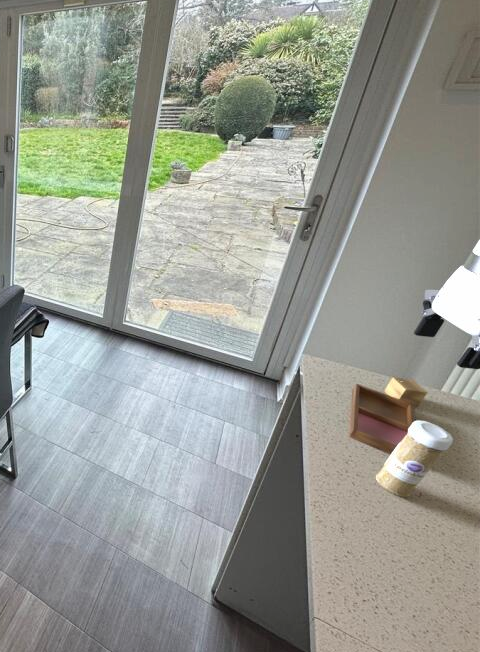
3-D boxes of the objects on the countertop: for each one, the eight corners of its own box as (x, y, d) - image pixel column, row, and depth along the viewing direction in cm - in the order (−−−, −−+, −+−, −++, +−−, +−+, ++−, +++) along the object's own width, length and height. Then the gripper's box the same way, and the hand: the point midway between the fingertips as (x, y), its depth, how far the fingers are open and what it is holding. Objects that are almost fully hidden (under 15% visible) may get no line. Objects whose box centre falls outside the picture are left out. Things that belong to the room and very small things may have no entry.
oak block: (404, 393, 91) (413, 379, 90) (418, 406, 88) (427, 392, 86) (383, 390, 92) (392, 377, 90) (396, 403, 89) (405, 389, 87)
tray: (408, 411, 87) (413, 404, 86) (413, 464, 75) (419, 456, 74) (352, 390, 92) (356, 383, 91) (348, 436, 80) (353, 429, 79)
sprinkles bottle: (382, 492, 70) (423, 436, 64) (369, 470, 73) (407, 415, 67) (416, 502, 68) (461, 445, 62) (402, 479, 72) (443, 424, 66)
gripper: (585, 296, 60) (514, 384, 68) (477, 250, 76) (429, 327, 83) (525, 290, 62) (461, 378, 69) (431, 247, 77) (387, 323, 84)
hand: (444, 350), depth 76 cm, fingers open, 9 cm apart
